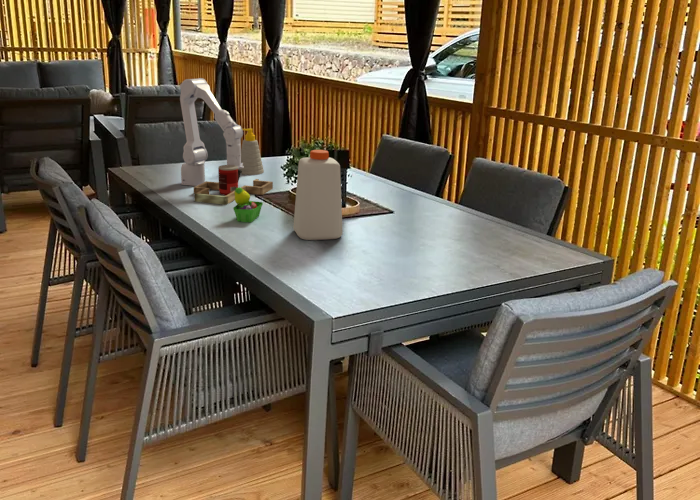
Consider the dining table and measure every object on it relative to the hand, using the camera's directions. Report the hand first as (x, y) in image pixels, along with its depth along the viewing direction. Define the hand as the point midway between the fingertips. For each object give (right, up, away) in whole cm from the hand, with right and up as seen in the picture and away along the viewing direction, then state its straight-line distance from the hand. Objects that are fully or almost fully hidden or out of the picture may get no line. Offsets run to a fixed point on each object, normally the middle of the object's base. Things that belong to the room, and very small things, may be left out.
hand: (234, 187), depth 276 cm
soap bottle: (+1, +10, +35) cm, 36 cm away
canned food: (-1, -3, -5) cm, 6 cm away
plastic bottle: (+37, -21, -54) cm, 69 cm away
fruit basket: (+11, -15, -39) cm, 44 cm away
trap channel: (-1, -3, -6) cm, 6 cm away
